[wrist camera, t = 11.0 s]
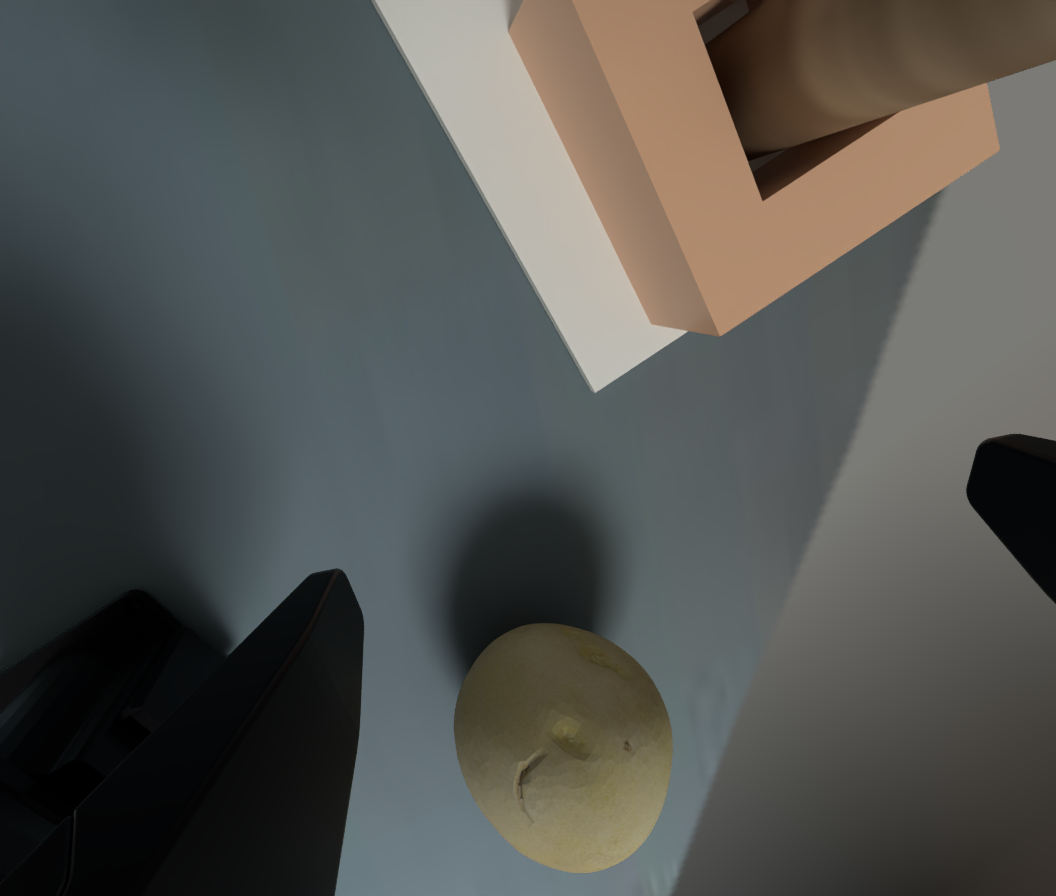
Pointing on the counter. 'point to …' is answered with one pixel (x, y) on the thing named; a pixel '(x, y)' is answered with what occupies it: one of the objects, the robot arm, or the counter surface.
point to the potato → (564, 746)
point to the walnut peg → (866, 60)
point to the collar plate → (526, 175)
